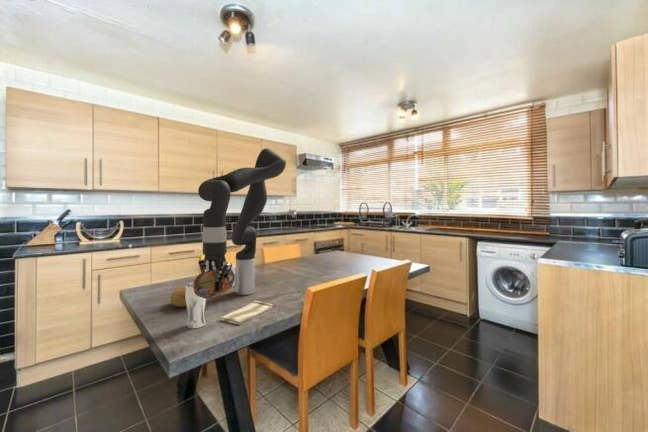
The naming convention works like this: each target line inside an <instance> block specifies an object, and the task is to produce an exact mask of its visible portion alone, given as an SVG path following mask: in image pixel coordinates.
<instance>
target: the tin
mask: <svg viewBox="0 0 648 432" xmlns="http://www.w3.org/2000/svg"><path fill="white" fill-rule="evenodd" d="M218 271H220V270H218ZM219 277H220V274H219ZM215 281H216V280H215V275H214V273H213V270H210V271H207V272H206V271H205V272H203V273H202V272H201V273H199V274H198V275H197V276H196V277H195V279H194V281H193V283H194V286H193V288H194V293H195V294H196V295H197V296H199V297H202V298H206V299H209V298H212V297H214V296H217V295H221V294H223V293H226V292H228V291H229V290H231V289H232V287H233V286H232V285H233V282H234V273H233V271H232V270H230V272H229V275H228V278H227V279H224V280H223V281H222V291H220V292H215Z"/></svg>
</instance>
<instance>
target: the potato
mask: <svg viewBox="0 0 648 432" xmlns="http://www.w3.org/2000/svg"><path fill="white" fill-rule="evenodd" d="M185 294H186V285H182V286H178V287H176V288H175V289H174V290H173V292H171V295H170V303H171V304H172V305H174V306H175V307H178V308H179V307H181V308H183V307H187V306H186V298H185Z"/></svg>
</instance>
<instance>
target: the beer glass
mask: <svg viewBox="0 0 648 432" xmlns="http://www.w3.org/2000/svg"><path fill="white" fill-rule="evenodd" d="M185 286H186V294H185V298H186V306H185V307H186V311H187V314H188V315H187V316H188V318H187V324H186V326H187V328H188V329H199V328H202V327H203V326H205V325H206V324H207V323H206V318H205V310H206V305H207V298H202V297H199V296H197V295H196V294H195V293H194V288H193V286H194V282H189V283H187V284H186V285H185Z"/></svg>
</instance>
